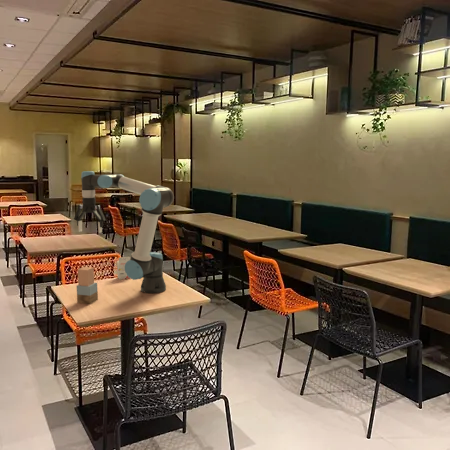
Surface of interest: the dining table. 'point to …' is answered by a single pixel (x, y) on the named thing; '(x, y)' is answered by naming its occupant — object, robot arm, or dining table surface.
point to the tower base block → (87, 298)
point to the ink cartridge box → (122, 267)
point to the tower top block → (87, 289)
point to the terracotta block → (86, 276)
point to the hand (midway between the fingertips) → (90, 232)
